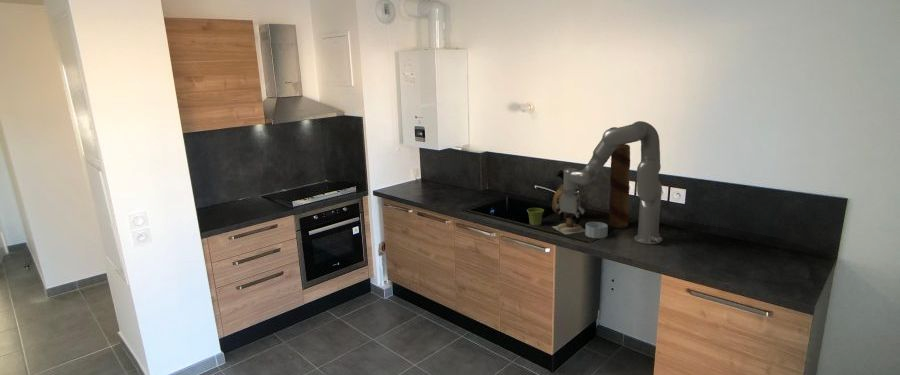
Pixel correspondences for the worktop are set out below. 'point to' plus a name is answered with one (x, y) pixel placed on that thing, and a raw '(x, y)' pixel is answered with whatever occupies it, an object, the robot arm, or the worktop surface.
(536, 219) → the plant pot
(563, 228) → the lid
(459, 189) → the worktop surface
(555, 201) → the ceramic jug
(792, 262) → the worktop surface
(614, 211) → the wafer roll
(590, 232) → the bowl
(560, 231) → the mat
